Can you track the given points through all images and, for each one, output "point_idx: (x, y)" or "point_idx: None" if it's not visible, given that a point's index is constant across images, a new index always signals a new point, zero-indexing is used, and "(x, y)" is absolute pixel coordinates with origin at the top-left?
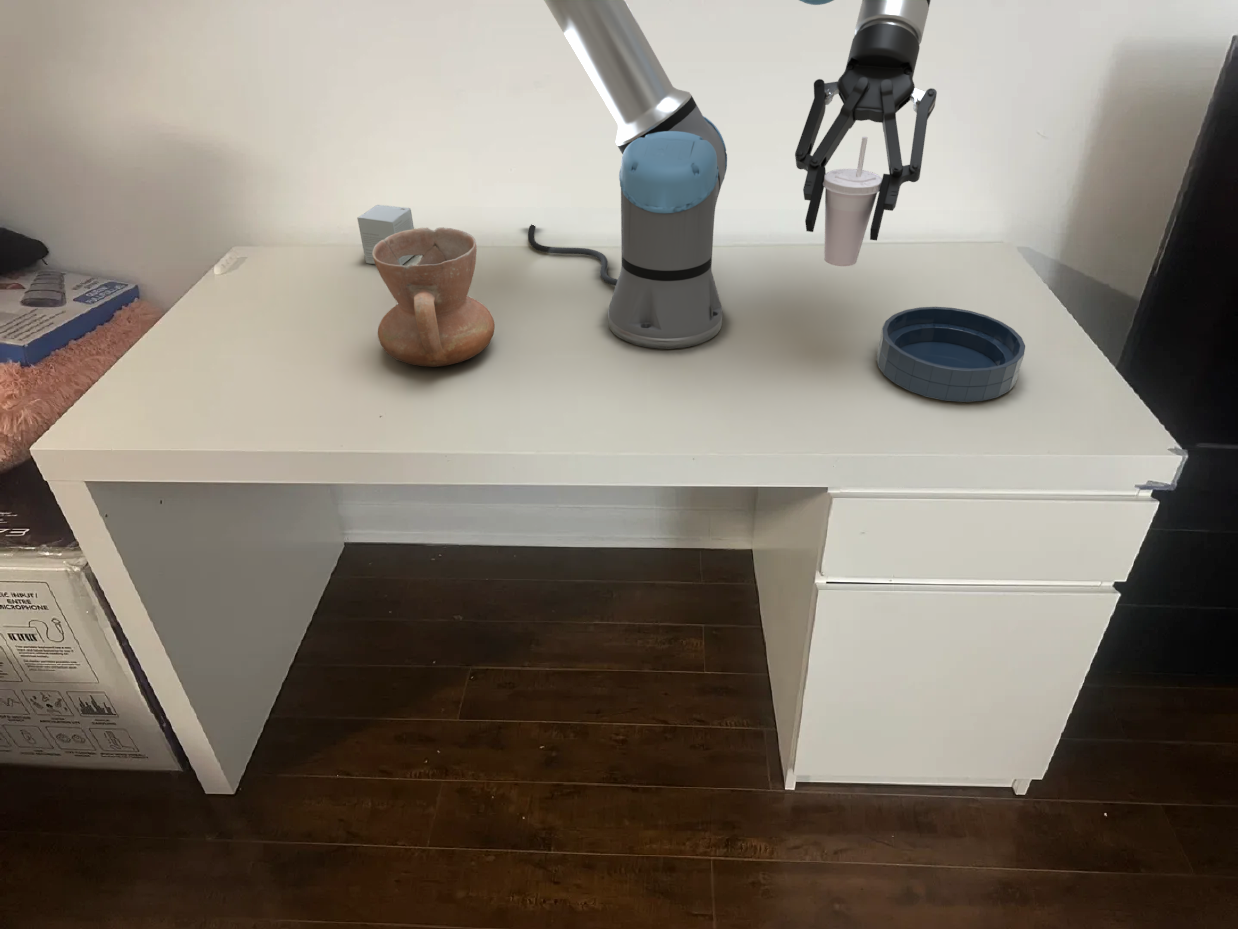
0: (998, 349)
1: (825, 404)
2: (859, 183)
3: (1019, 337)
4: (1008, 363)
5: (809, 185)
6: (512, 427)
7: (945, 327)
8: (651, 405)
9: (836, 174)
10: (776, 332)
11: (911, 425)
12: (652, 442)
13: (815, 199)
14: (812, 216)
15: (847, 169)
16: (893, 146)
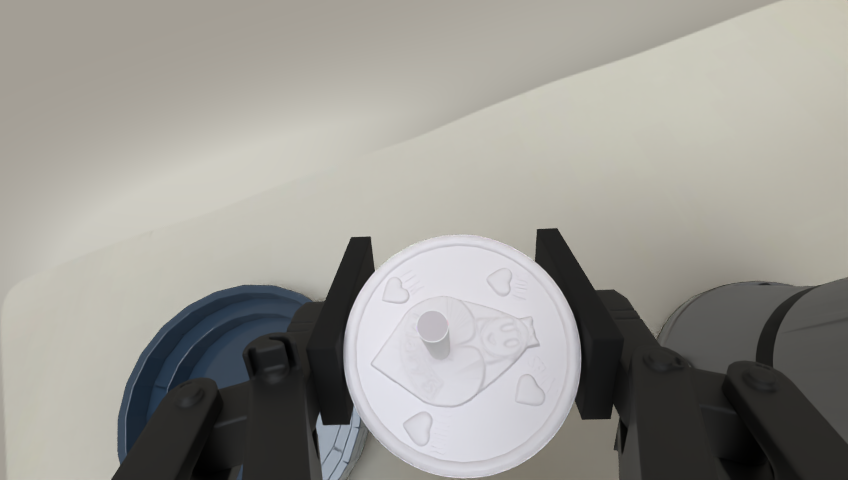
0: None
1: (423, 235)
2: (423, 287)
3: (121, 449)
4: (157, 339)
5: (613, 310)
6: (757, 52)
7: None
8: (635, 149)
9: (531, 337)
10: (558, 434)
11: (310, 228)
12: (592, 85)
13: (560, 262)
14: (542, 235)
15: (509, 453)
16: (278, 475)
